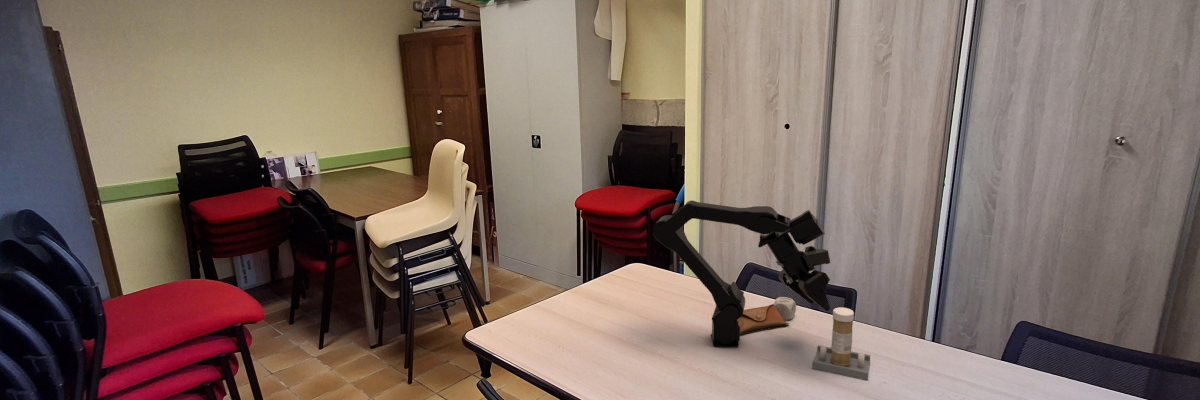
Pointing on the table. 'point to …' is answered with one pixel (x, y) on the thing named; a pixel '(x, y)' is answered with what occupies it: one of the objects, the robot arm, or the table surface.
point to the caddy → (855, 369)
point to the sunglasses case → (760, 319)
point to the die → (785, 307)
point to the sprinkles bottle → (842, 336)
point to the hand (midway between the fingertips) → (820, 306)
